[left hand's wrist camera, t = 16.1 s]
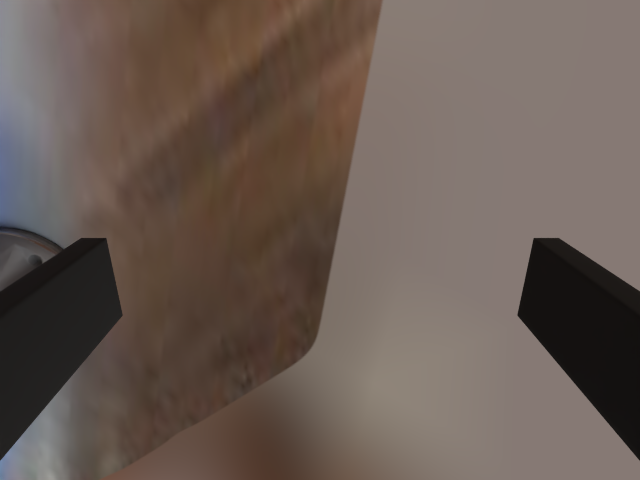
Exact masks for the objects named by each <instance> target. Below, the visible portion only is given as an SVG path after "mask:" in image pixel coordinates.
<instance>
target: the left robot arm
mask: <svg viewBox="0 0 640 480" xmlns="http://www.w3.org/2000/svg"><path fill="white" fill-rule="evenodd" d="M121 317H122V310H121V306H120V301H119V296H118V291H117V287H116V282H115V277H114V273H113V268H112V263H111V258H110V254H109V249H108V244H107V240H106V238H81V239H79V240H78V241H76V242H75V243H73V244H72V245H70V246H69V247H67V248H65V249H64V250H63V249H62V248H60V247H59V246H57V245H56V244H54V243H52V242H51V241H49V240H47V239H45V238H43V237H41V236H38V235H36V234H33V233H30V232H27V231H23V230H18V229H9V228H0V460H1V459H2V458H3V457H4V456H5V454H6V453H7V452H8V451H9V450H10V448H11V447H12V446H13V445H14V444H15V442H16V441H17V440H18V439H19V438H20V437H21V435H22V434H23V433H24V432H25V431H26V429H27V428H28V427H29V426H30V425H31V423H32V422H33V421H34V420H35V419H36V418H37V416H38V415H39V414H40V413H41V412H42V410H43V409H44V408H45V407H46V406H47V404H48V403H49V402H50V401H51V400H52V399H53V397H54V396H55V395H56V394H57V393H58V391H59V390H60V389H61V388H62V387H63V385H64V384H65V383H66V382H67V381H68V380H69V378H70V377H71V376H72V375H73V374H74V372H75V371H76V370H77V369H78V368H79V366H80V365H81V364H82V363H83V362H84V361H85V359H86V358H87V357H88V356H89V355H90V353H91V352H92V351H93V350H94V349H95V347H96V346H97V345H98V344H99V343H100V342H101V340H102V339H103V338H104V337H105V336H106V334H107V333H108V332H109V331H110V330H111V328H112V327H113V326H114V325H115V324H116V323H117V321H118V320H119V319H120V318H121ZM518 317H519V318H520V319H521V320H522V321H523V323H524V324H525V325H526V326H527V327H528V328H529V330H530V331H531V332H532V333H533V334H534V336H535V337H536V338H537V339H538V340H539V342H540V343H541V344H542V345H543V346H544V347H545V349H546V350H547V351H548V352H549V353H550V355H551V356H552V357H553V358H554V359H555V361H556V362H557V363H558V364H559V365H560V366H561V368H562V369H563V370H564V371H565V372H566V374H567V375H568V376H569V377H570V378H571V380H572V381H573V382H574V383H575V384H576V385H577V387H578V388H579V389H580V390H581V391H582V393H583V394H584V395H585V396H586V397H587V398H588V400H589V401H590V402H591V403H592V404H593V406H594V407H595V408H596V409H597V410H598V412H599V413H600V414H601V415H602V416H603V417H604V419H605V420H606V421H607V422H608V423H609V425H610V426H611V427H612V428H613V429H614V431H615V432H616V433H617V434H618V435H619V437H620V438H621V439H622V440H623V441H624V442H625V444H626V445H627V446H628V447H629V448H630V450H631V451H632V452H633V453H634V454H635V455H636V457H637V458H638V459H639V460H640V291H638V290H637V289H635V288H634V287H632V286H631V285H629V284H628V283H626V282H625V281H623V280H622V279H620V278H619V277H617V276H615V275H614V274H612V273H611V272H609V271H608V270H606V269H605V268H603V267H602V266H600V265H599V264H597V263H596V262H594V261H593V260H591V259H590V258H588V257H587V256H585V255H584V254H582V253H581V252H579V251H578V250H576V249H575V248H573V247H571V246H570V245H568V244H567V243H565V242H564V241H562V240H561V239H559V238H534V240H533V244H532V249H531V254H530V258H529V263H528V268H527V273H526V277H525V282H524V287H523V291H522V296H521V301H520V306H519V310H518Z"/></svg>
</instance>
